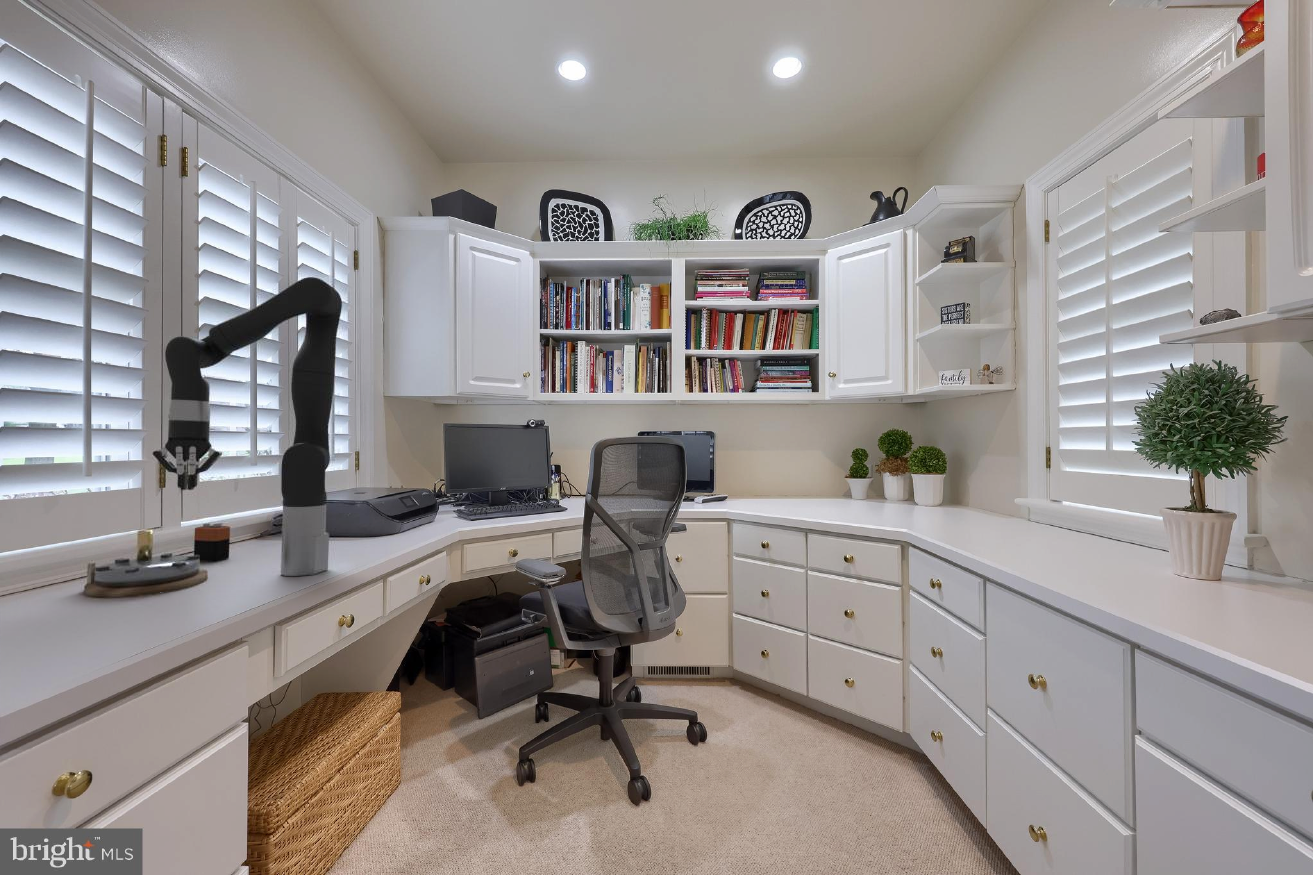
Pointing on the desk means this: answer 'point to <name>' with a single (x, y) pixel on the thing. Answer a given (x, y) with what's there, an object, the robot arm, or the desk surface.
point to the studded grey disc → (146, 567)
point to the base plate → (115, 592)
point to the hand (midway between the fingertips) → (187, 489)
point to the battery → (212, 542)
